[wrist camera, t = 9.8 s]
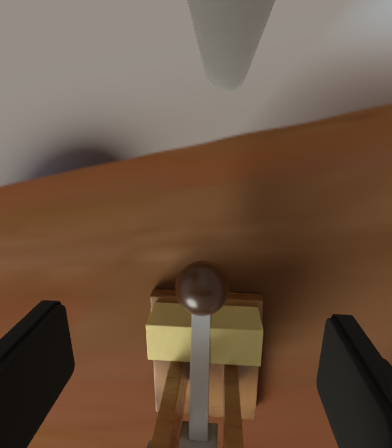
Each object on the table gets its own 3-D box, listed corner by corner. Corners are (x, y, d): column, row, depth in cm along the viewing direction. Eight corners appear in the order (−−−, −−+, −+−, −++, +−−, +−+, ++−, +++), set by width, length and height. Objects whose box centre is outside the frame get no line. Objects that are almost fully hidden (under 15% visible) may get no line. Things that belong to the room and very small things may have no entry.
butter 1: (155, 301, 23) (145, 324, 20) (199, 303, 23) (196, 327, 20) (156, 333, 24) (147, 359, 21) (199, 335, 24) (196, 363, 21)
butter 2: (212, 304, 23) (210, 328, 20) (258, 306, 22) (263, 330, 20) (211, 336, 24) (210, 363, 21) (256, 339, 23) (260, 367, 20)
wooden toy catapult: (153, 288, 24) (101, 399, 14) (261, 293, 23) (293, 414, 13) (158, 401, 27) (120, 558, 17) (253, 408, 27) (273, 576, 16)
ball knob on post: (180, 257, 19) (171, 262, 16) (228, 259, 19) (230, 264, 15) (174, 459, 18) (165, 507, 15) (224, 464, 18) (225, 513, 15)
